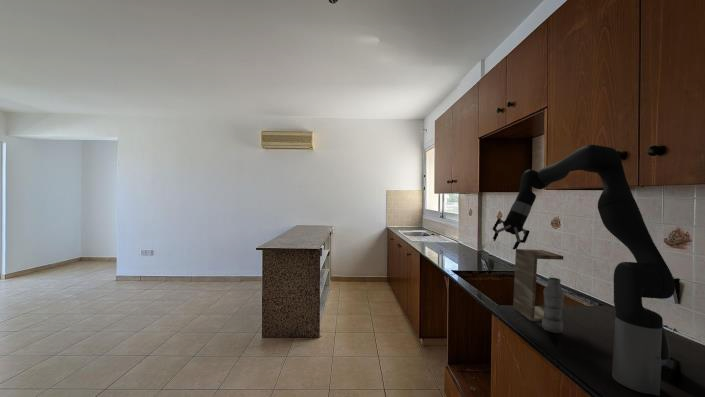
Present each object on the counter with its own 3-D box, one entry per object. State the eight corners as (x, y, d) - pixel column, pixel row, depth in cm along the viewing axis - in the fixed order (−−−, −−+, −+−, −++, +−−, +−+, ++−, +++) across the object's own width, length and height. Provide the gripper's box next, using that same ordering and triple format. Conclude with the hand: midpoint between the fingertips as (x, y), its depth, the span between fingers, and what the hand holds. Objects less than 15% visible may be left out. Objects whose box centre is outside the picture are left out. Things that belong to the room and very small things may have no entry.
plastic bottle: (566, 336, 107) (569, 282, 107) (545, 334, 109) (548, 280, 108) (557, 328, 114) (560, 277, 113) (538, 326, 115) (541, 275, 115)
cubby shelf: (538, 309, 134) (541, 249, 133) (559, 321, 121) (563, 256, 120) (512, 308, 133) (515, 249, 133) (531, 320, 120) (534, 255, 120)
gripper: (503, 206, 134) (488, 238, 135) (537, 218, 128) (521, 252, 129) (502, 207, 140) (488, 238, 142) (534, 219, 134) (519, 251, 136)
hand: (503, 245), depth 135 cm, fingers open, 8 cm apart
